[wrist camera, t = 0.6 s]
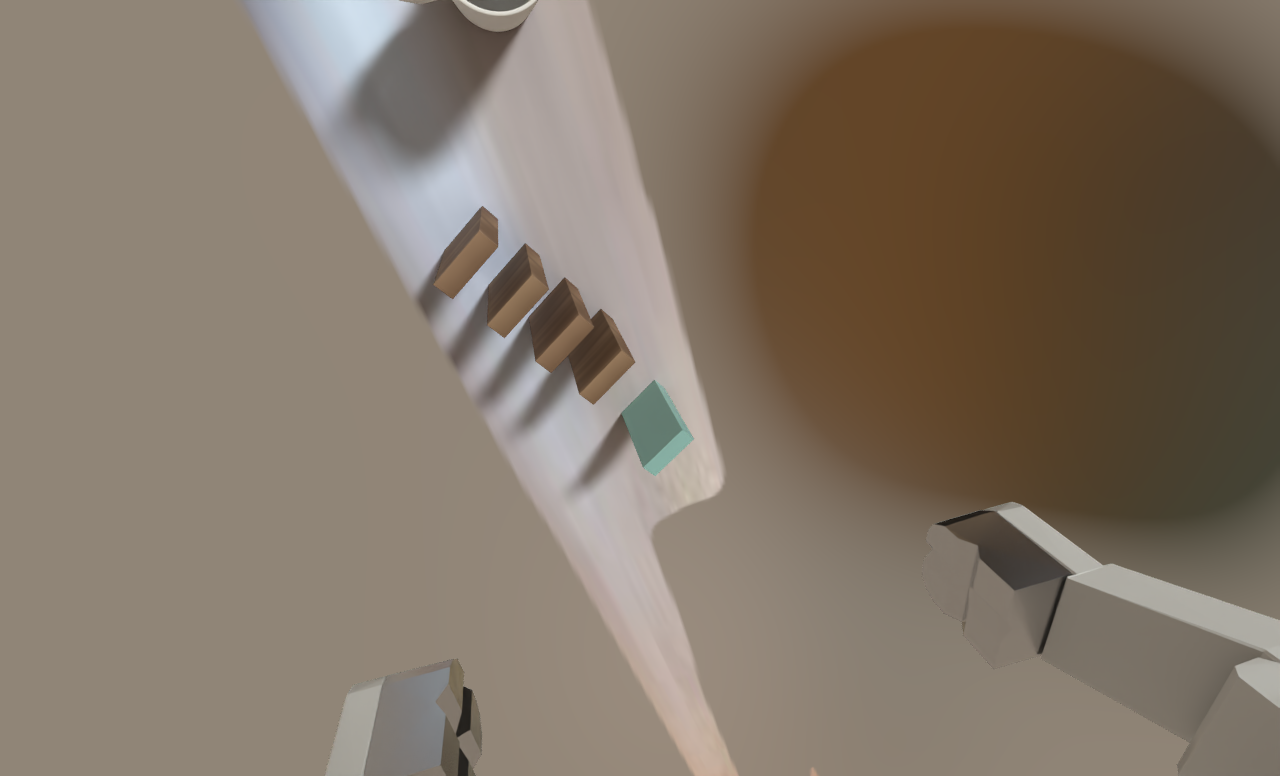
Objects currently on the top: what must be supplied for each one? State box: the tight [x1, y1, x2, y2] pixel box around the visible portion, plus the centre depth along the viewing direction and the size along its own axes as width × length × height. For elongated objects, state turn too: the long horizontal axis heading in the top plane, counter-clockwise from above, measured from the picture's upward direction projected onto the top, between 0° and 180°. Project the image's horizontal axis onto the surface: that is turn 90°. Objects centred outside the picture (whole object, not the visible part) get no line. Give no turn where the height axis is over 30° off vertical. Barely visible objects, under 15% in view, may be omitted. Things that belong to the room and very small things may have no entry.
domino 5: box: [622, 380, 694, 476], centre depth 54 cm, size 2×5×10 cm, turn 135°
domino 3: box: [529, 278, 594, 373], centre depth 47 cm, size 2×5×10 cm, turn 135°
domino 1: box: [433, 206, 498, 299], centre depth 43 cm, size 2×5×10 cm, turn 135°
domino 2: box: [487, 243, 549, 338], centre depth 45 cm, size 2×5×10 cm, turn 135°
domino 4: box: [568, 309, 635, 405], centre depth 49 cm, size 2×5×10 cm, turn 135°
